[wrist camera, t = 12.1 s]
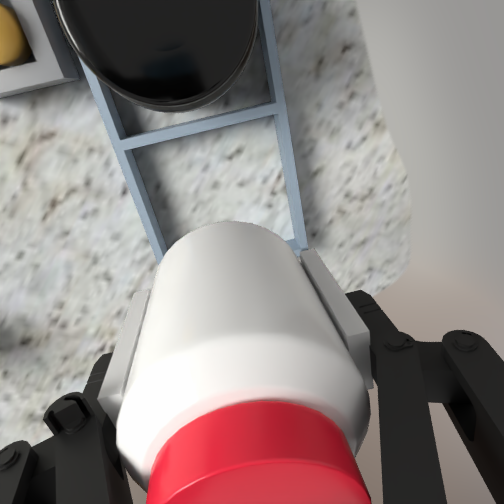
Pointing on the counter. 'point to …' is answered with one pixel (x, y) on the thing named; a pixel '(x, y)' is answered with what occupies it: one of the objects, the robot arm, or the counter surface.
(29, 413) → the counter surface
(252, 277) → the pill bottle
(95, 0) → the supplement container
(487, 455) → the robot arm
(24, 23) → the grey egg holder
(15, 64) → the button
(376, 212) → the counter surface
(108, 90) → the frame
